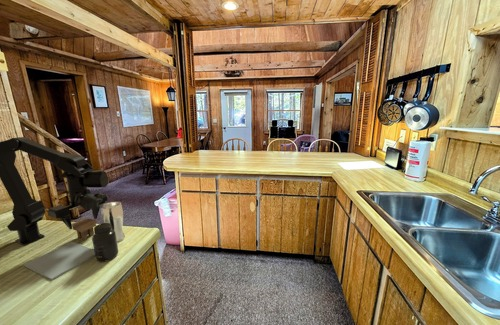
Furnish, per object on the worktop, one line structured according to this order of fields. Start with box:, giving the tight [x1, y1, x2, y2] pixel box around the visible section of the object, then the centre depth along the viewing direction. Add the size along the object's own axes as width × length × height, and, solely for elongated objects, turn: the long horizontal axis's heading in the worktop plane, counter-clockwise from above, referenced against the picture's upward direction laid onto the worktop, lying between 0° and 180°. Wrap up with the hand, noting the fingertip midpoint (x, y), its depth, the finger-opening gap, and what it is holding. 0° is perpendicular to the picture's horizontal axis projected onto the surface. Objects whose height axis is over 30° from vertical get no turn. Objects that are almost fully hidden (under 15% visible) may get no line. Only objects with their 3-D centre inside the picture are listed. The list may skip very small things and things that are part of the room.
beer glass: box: [100, 201, 125, 243], centre depth 83 cm, size 7×7×15 cm
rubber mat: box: [23, 241, 95, 281], centre depth 72 cm, size 16×14×1 cm
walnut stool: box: [71, 217, 97, 241], centre depth 85 cm, size 6×6×6 cm
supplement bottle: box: [91, 222, 119, 263], centre depth 73 cm, size 7×7×12 cm
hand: (83, 223), depth 85 cm, fingers open, 9 cm apart
